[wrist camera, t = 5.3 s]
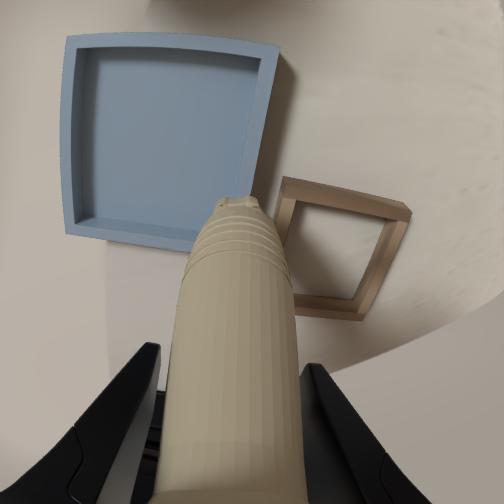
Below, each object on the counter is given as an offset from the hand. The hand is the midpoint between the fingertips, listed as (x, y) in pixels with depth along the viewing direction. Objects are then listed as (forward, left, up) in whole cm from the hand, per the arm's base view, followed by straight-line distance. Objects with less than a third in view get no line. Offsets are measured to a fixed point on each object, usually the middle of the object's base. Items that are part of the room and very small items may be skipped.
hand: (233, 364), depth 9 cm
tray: (+2, +5, -13) cm, 14 cm away
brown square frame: (-4, -7, -13) cm, 15 cm away
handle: (0, 0, -9) cm, 9 cm away
